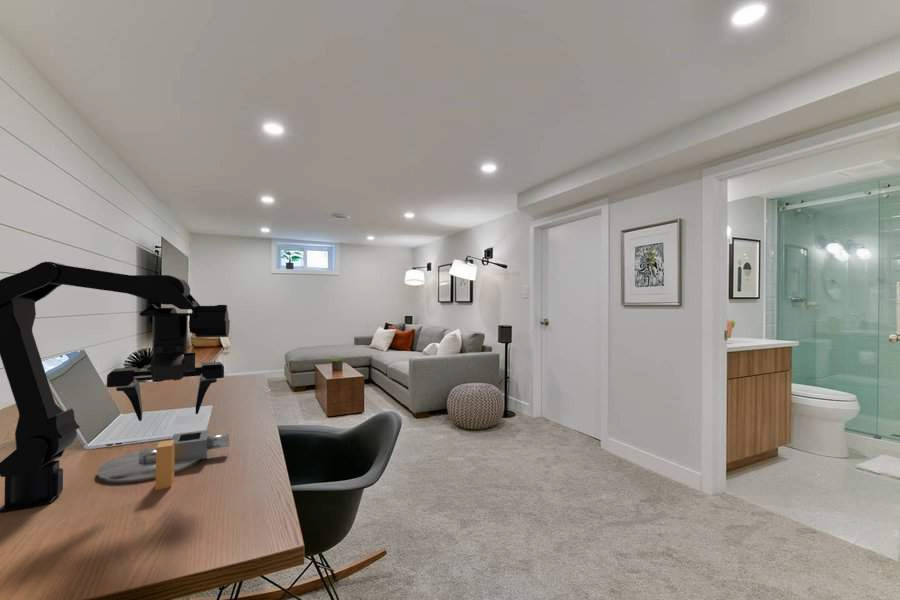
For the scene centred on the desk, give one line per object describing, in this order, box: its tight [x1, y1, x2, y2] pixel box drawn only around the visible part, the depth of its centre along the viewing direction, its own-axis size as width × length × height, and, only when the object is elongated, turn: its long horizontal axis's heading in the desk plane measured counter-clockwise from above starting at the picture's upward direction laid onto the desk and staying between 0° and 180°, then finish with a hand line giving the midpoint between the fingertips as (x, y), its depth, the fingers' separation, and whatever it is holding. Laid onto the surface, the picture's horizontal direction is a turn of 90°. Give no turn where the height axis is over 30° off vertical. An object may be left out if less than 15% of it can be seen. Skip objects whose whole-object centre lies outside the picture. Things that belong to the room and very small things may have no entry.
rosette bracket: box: [97, 429, 230, 484], centre depth 90 cm, size 24×18×5 cm
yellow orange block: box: [155, 439, 175, 491], centre depth 79 cm, size 2×4×8 cm, turn 28°
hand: (169, 417), depth 80 cm, fingers open, 9 cm apart
